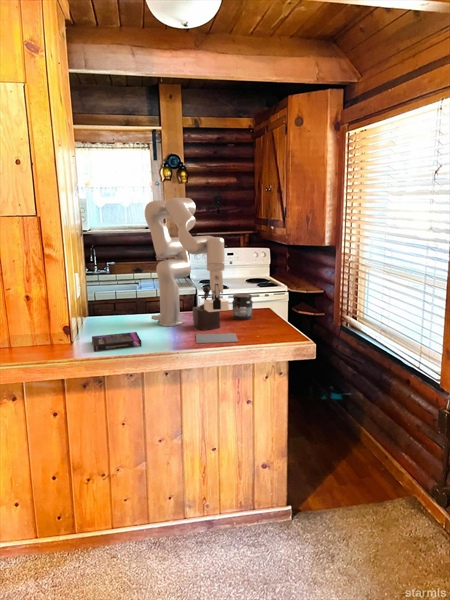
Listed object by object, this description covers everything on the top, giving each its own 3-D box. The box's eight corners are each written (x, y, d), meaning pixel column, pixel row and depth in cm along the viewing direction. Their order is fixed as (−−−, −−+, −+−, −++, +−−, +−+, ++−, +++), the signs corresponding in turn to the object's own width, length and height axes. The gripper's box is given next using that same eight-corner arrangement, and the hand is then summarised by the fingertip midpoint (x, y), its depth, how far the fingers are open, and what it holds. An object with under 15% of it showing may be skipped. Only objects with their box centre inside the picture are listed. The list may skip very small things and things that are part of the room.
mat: (196, 343, 189) (196, 342, 189) (195, 335, 201) (195, 334, 201) (238, 342, 191) (238, 341, 191) (235, 334, 202) (235, 333, 202)
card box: (228, 310, 192) (228, 300, 191) (208, 312, 188) (208, 302, 187) (223, 307, 197) (223, 298, 196) (204, 309, 194) (204, 299, 193)
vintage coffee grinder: (221, 328, 212) (221, 291, 208) (200, 331, 208) (199, 293, 204) (209, 320, 226) (209, 285, 222) (189, 322, 221) (188, 287, 218)
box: (137, 339, 199) (92, 342, 193) (136, 331, 199) (91, 335, 192) (141, 348, 186) (93, 352, 180) (141, 340, 186) (92, 344, 179)
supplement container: (243, 314, 237) (243, 292, 235) (256, 318, 229) (256, 295, 227) (228, 317, 231) (227, 295, 228) (241, 321, 223) (241, 298, 220)
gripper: (226, 269, 180) (226, 311, 184) (222, 263, 197) (223, 302, 201) (207, 269, 180) (208, 312, 184) (205, 264, 197) (206, 303, 201)
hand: (216, 306), depth 192 cm, fingers closed on card box, 7 cm apart
